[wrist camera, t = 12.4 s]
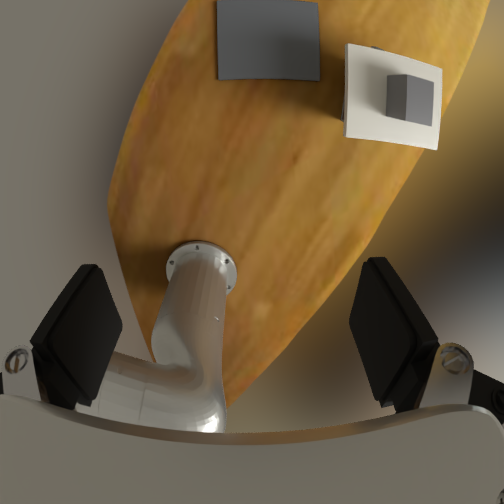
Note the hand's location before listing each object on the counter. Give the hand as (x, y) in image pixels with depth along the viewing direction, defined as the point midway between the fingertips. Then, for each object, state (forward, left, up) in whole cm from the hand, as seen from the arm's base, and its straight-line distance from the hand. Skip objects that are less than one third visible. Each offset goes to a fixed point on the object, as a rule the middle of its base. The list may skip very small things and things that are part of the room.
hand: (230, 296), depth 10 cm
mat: (+16, -4, -33) cm, 37 cm away
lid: (+8, -18, -23) cm, 31 cm away
